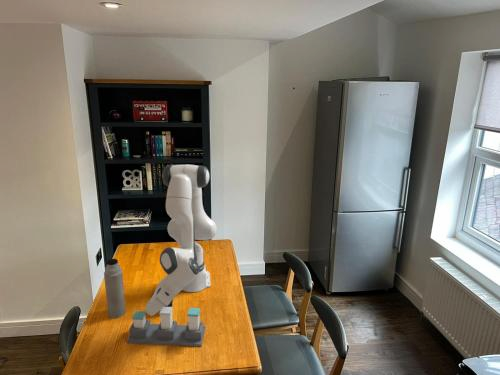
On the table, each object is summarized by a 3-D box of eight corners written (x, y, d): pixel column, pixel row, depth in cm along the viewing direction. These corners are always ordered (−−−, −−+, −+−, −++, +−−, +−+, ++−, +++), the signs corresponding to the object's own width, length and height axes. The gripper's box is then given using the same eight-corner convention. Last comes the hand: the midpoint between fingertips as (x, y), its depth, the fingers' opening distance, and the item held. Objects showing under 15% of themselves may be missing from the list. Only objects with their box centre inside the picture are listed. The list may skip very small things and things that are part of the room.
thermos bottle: (114, 306, 181) (110, 255, 173) (129, 309, 179) (124, 258, 171) (104, 316, 173) (98, 263, 165) (119, 319, 171) (114, 266, 163)
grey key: (163, 324, 163) (162, 306, 160) (173, 324, 163) (172, 307, 160) (160, 330, 159) (159, 313, 156) (171, 331, 158) (170, 313, 156)
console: (136, 324, 168) (135, 315, 167) (205, 328, 167) (205, 318, 166) (126, 343, 157) (125, 333, 155) (201, 346, 156) (201, 336, 154)
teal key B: (190, 325, 163) (189, 307, 160) (200, 325, 163) (200, 308, 160) (188, 332, 158) (187, 314, 156) (198, 332, 158) (198, 314, 156)
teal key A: (136, 328, 164) (135, 310, 162) (147, 328, 164) (146, 311, 161) (133, 335, 160) (132, 317, 157) (143, 335, 160) (142, 317, 157)
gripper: (169, 269, 164) (149, 287, 168) (156, 296, 145) (133, 316, 148) (179, 279, 166) (159, 296, 169) (168, 306, 146) (145, 326, 149)
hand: (147, 306), depth 158 cm, fingers closed
